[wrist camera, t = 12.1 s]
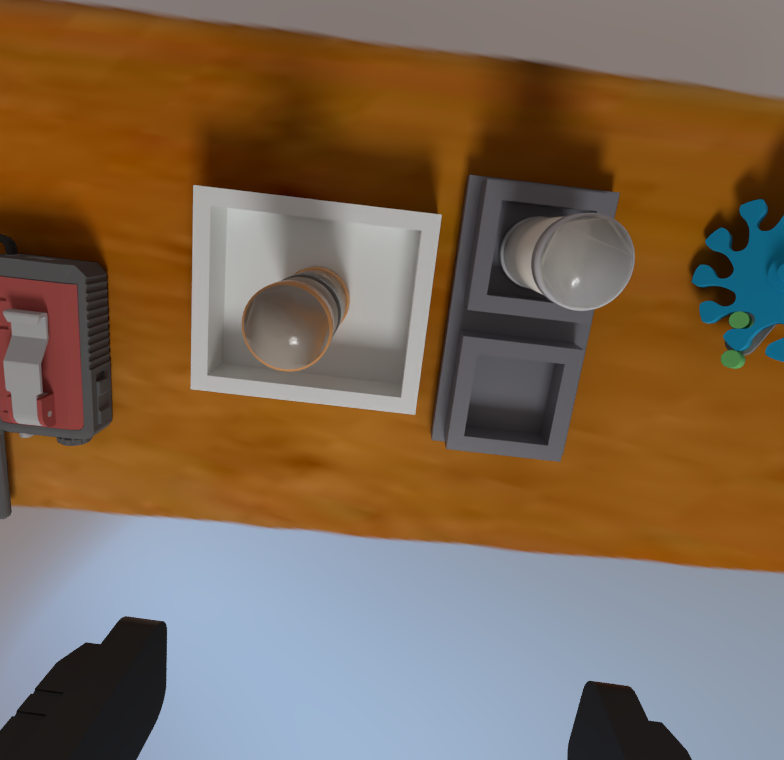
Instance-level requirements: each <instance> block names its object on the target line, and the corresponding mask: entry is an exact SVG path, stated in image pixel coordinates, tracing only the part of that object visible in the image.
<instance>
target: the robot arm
mask: <svg viewBox="0 0 784 760" xmlns="http://www.w3.org/2000/svg"><path fill="white" fill-rule="evenodd" d="M166 659H167V627H166V623H165V622H163V621H156V620H148V619H141V618H134V617H127V616H126V617H123V618H121V619H120V620H119V621H118V622H117V623H116V625H115V626H114V628H113V629H112V630H111V631H110V633H109V634H108V635H107V637H106V638H105V639H104V641H103V642H102V643H101V644H93V643H85V644H83V645H82V646H80V647H79V648H77V649H76V650H74V651H73V652H71V653H70V654H69V655H67V656H66V657H64V658H63V659H61V660H60V661H58V662H57V663H56V664H55V666H54V667H53V668H52V669H51V670H50V671H49V673H48V674H47V675H46V676H45V677H44V679H43V680H42V681H41V682H40V684H39V685H38V686H37V687H36V688H35V691H34V693H33V694H30V696H29V697H28V698H27V699H26V700H25V702H24V703H23V704H22V705H21V706H20V707H19V709H18V710H17V713H16V715H15V716H14V717H13V716H12V717H11V719H9V721H8V722H7V723H6V724H5V726H4V727H3V728H2V729H1V730H0V760H136V759H137V757H138V756H139V754H140V752H141V750H142V748H143V746H144V744H145V742H146V740H147V739H148V737H149V735H150V733H151V731H152V729H153V727H154V725H155V723H156V721H157V719H158V716H159V713H160V711H161V708H162V704H163V700H164V696H165V690H166V662H167V661H166ZM568 760H692V759H691V757H690V755H689V754H688V752H687V750H686V749H685V748H684V747H683V746H682V745H681V743H680V742H679V741H678V740H677V739H676V738H675V737H674V736H673V734H672V733H671V732H670V731H669V730H668V729H667V728H666V727H665V726H664V725H663V723H661V722H654V721H648V718H647V716H646V714H645V712H644V710H643V708H642V706H641V704H640V702H639V700H638V697H637V695H636V694H635V692H634V690H633V689H632V688H631V687H629V686H624V685H616V684H609V683H602V682H594V681H588V682H587V683H586V684H585V686H584V689H583V692H582V696H581V699H580V703H579V707H578V710H577V714H576V718H575V721H574V725H573V729H572V732H571V736H570V740H569V744H568Z"/></svg>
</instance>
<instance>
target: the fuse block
mask: <svg viewBox="0 0 784 760" xmlns="http://www.w3.org/2000/svg"><path fill="white" fill-rule="evenodd" d="M619 194H620V193H617V192H609V191H601V190H592V189H584V188H576V187H567V186H559V185H551V184H543V183H534V182H526V181H518V180H509V179H501V178H493V177H484V176H476V175H469V176H468V177H467V184H466V191H465V198H464V205H463V212H462V219H461V226H460V233H459V240H458V247H457V254H456V261H455V268H454V275H453V282H452V288H451V295H450V302H449V309H448V316H447V323H446V330H445V337H444V344H443V351H442V358H441V365H440V372H439V379H438V386H437V393H436V400H435V407H434V414H433V421H432V428H431V439H432V440H437V441H445V445H446V449H452V450H461V451H470V452H479V453H487V454H496V455H505V456H514V457H523V458H532V459H540V460H549V461H558V462H560V461H561V456H562V455H563V451H564V447H565V442H566V437H567V433H568V428H569V424H570V419H571V415H572V410H573V405H574V401H575V396H576V392H577V387H578V382H579V378H580V373H581V369H582V364H583V359H584V355H585V350H586V346H587V341H588V336H589V332H590V327H591V323H592V318H593V313H594V309H592V310H587V311H576V310H570V309H567V308H564V307H562V306H560V305H558V304H556V303H554V302H552V301H550V300H549V299H548V298H546V297H545V296H544V295H542V294H540V293H538V292H536V291H534V290H532V289H529V288H525V287H522V286H520V285H518V284H516V283H514V282H512V281H511V280H510V279H509V278H508V277H507V276H506V275H505V274H504V272H503V271H502V269H501V267H500V263H499V258H498V251H499V245H500V242H501V239H502V237H503V235H504V234H505V232H506V231H507V230H508V229H509V228H510V227H511V226H512V225H513V224H514V223H516V222H518V221H519V220H522V219H524V218H528V217H538V216H542V217H549V218H550V217H565V216H567V215H571V214H578V213H600V214H604V215H607V216H609V217H611V218H613V219H614V217H615V212H616V208H617V203H618V199H619Z"/></svg>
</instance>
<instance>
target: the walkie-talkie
mask: <svg viewBox="0 0 784 760" xmlns="http://www.w3.org/2000/svg"><path fill="white" fill-rule="evenodd" d="M0 242H2V243H3V244H4V246H5V249H6V254H0V519H5V518H7V517H8V516H10V514H11V501H10V490H9V480H8V469H7V459H6V448H5V438H4V432H6V431H8V432H15V433H20V437H23V438H27V437H31V436H32V434H33V435H42V436H52V437H57V441H58V443H60V444H62V445H67V446H75V445H81V444H85V443H87V442H89V441H90V440H91V439H92V436H94V435H95V434H97V433H98V432H100V431H101V430H102V429H104V428H105V427H107V426H108V425H109V424H110V423H111V421H112V399H111V369H110V360H109V356H110V353H109V348H110V345H109V340H110V338H109V337H108V332H109V329H108V324H109V321H108V316H109V314H108V305H107V300H108V297H107V292H108V289H107V283H108V281H107V277H106V275H107V273H106V272H105V271H104V269H103V268H102V267H101V266H100V265H99V264H98V263H97V262H89V261H80V260H71V259H63V258H54V257H45V256H37V255H28V254H19V253H18V251H17V247H16V244H15V242H14V241H13V240H12V239H11V238H10V237H7V236H5V235H2V234H0Z"/></svg>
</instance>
